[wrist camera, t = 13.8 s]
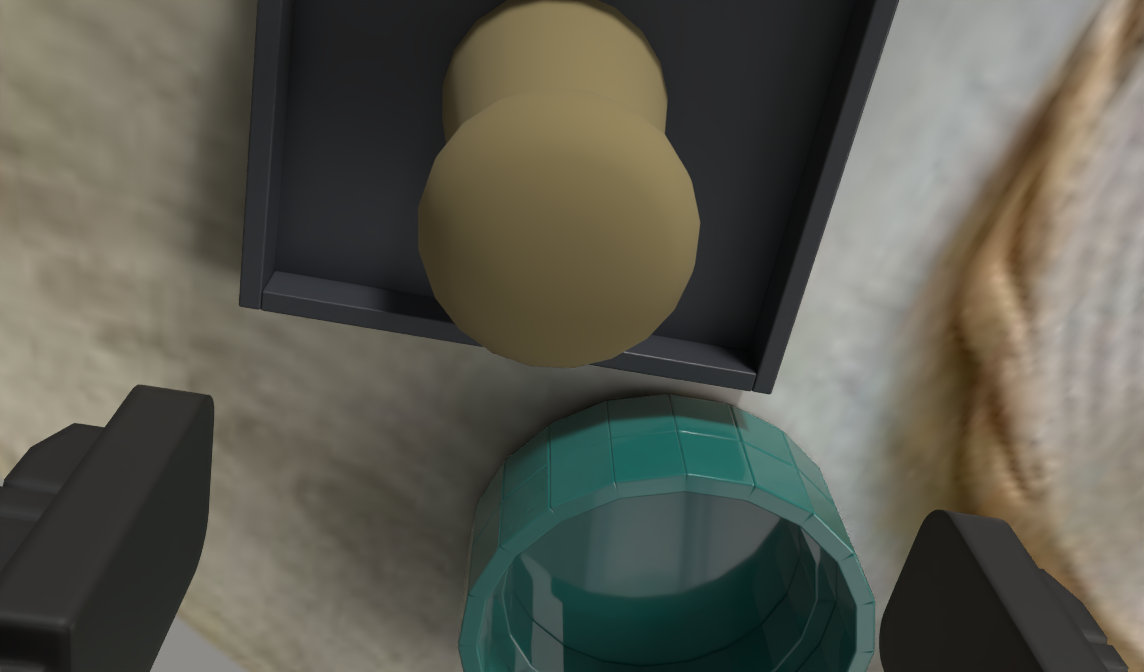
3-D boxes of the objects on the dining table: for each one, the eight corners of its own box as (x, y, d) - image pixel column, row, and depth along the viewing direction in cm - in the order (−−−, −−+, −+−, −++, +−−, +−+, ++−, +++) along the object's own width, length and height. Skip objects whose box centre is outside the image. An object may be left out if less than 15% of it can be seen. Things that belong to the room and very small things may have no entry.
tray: (256, 278, 30) (238, 307, 28) (291, -229, 24) (271, -233, 22) (758, 363, 32) (771, 395, 30) (902, -94, 26) (929, -88, 24)
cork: (462, -35, 26) (410, 52, 16) (694, 19, 26) (783, 134, 17) (424, 191, 28) (359, 386, 18) (636, 235, 29) (683, 445, 19)
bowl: (446, 658, 37) (432, 769, 32) (503, 359, 31) (496, 444, 27) (775, 702, 38) (805, 814, 34) (884, 422, 33) (935, 512, 28)
